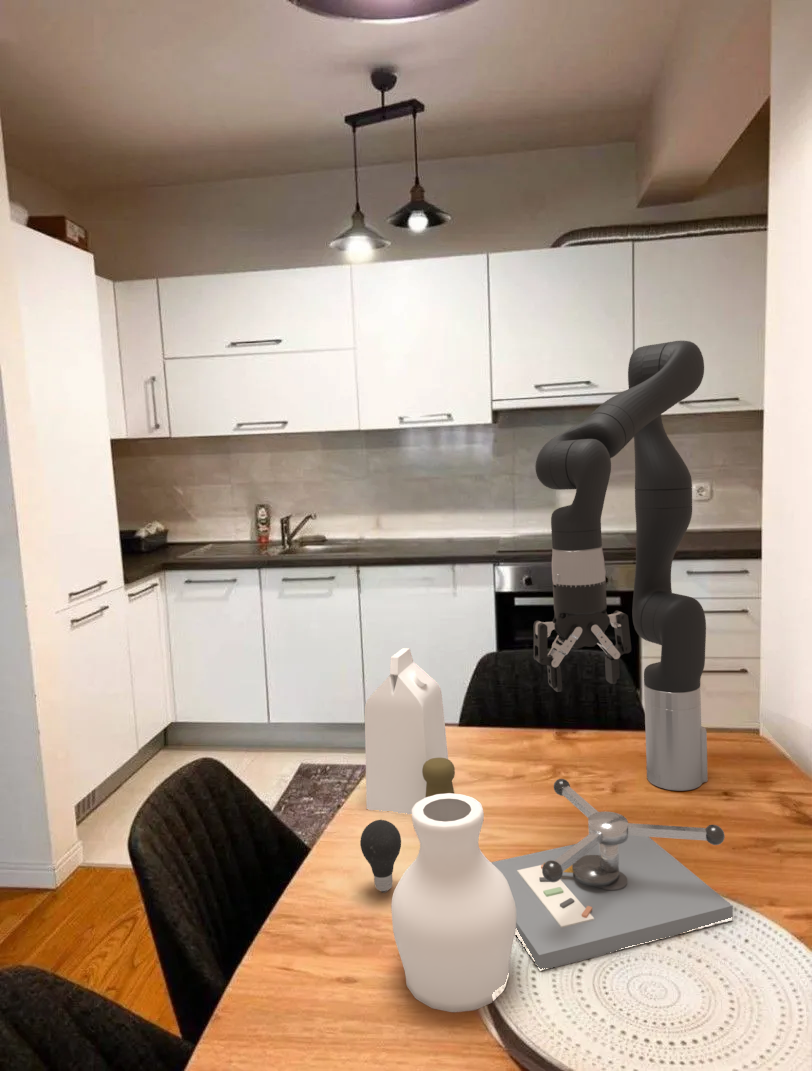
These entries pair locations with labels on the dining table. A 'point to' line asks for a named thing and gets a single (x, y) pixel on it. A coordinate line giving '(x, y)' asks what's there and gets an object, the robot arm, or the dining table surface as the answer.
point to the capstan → (610, 842)
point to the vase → (453, 909)
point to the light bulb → (381, 851)
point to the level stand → (607, 903)
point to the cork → (438, 776)
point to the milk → (402, 735)
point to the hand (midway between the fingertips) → (584, 686)
